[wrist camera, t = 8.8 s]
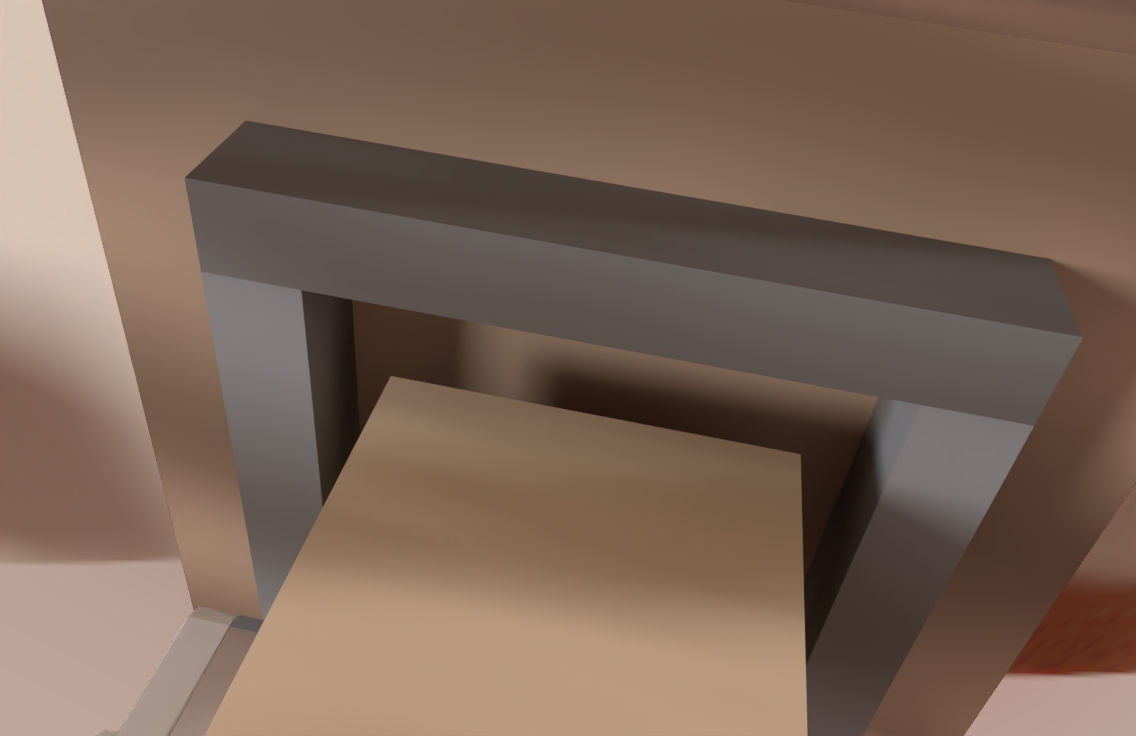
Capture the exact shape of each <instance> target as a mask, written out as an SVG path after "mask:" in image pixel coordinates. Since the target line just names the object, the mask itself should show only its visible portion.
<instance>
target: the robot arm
mask: <svg viewBox="0 0 1136 736" xmlns="http://www.w3.org/2000/svg"><path fill="white" fill-rule="evenodd" d="M263 622H264V620H260V619H256V618H251V617H247V616H244V615H242V614H237V613H232V612H227V611H222V610H217V609H212V608H207V607H202V606H198V607H197V608H196V609H195V610H194V611H193V612H192V613H191V614H190V615H189V616H188V617H187V618H186V619H185V621H184V623H183V624H182V626H181V628H180V629H179V631H178V633H177V634H176V636H175V637H174V639H173V641H172V643H171V644H170V646H169V647H168V649H167V651H166V652H165V654H164V656H163V657H162V659H161V661H160V663H159V664H158V666H157V667H156V669H155V671H154V673H153V674H152V676H151V678H150V679H149V681H148V682H147V684H146V686H145V687H144V689H143V691H142V692H141V694H140V696H139V697H138V699H137V701H136V702H135V704H134V706H133V707H132V709H131V711H130V712H129V714H128V716H127V717H126V719H125V720H124V722H123V724H122V726H121V727H120V729H119V730H118V732H115V731H109V730H104V731H103V732H101V733H99V734H98V735H96V736H205V734H206V732H207V730H208V728H209V726H210V724H211V722H212V720H213V718H214V716H215V714H216V712H217V710H218V708H219V707H220V705H221V703H222V701H223V699H224V697H225V695H226V693H227V691H228V689H229V687H230V685H231V683H232V681H233V680H234V678H235V676H236V674H237V672H238V670H239V668H240V666H241V664H242V662H243V660H244V658H245V656H246V654H247V653H248V651H249V649H250V647H251V645H252V643H253V641H254V639H255V637H256V635H257V633H258V631H259V629H260V627H261V626H262V624H263ZM808 736H809V735H808Z"/></svg>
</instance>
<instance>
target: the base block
mask: <svg viewBox="0 0 1136 736" xmlns="http://www.w3.org/2000/svg"><path fill="white" fill-rule="evenodd" d="M42 3H43V7H44V11H45V15H46V19H47V23H48V27H49V31H50V35H51V39H52V43H53V47H54V51H55V55H56V59H57V63H58V67H59V71H60V75H61V79H62V83H63V87H64V91H65V95H66V99H67V103H68V107H69V111H70V115H71V119H72V123H73V127H74V131H75V135H76V139H77V143H78V147H79V151H80V155H81V159H82V163H83V167H84V171H85V175H86V179H87V183H88V187H89V191H90V195H91V199H92V203H93V207H94V211H95V215H96V219H97V223H98V227H99V231H100V235H101V240H102V244H103V248H104V252H105V256H106V260H107V264H108V268H109V272H110V276H111V280H112V284H113V288H114V292H115V296H116V300H117V304H118V308H119V312H120V316H121V320H122V324H123V328H124V332H125V336H126V340H127V344H128V348H129V352H130V356H131V360H132V364H133V368H134V372H135V376H136V380H137V384H138V388H139V392H140V396H141V400H142V404H143V408H144V412H145V416H146V420H147V424H148V428H149V432H150V436H151V440H152V444H153V448H154V452H155V456H156V460H157V464H158V468H159V472H160V476H161V480H162V484H163V488H164V492H165V496H166V500H167V504H168V508H169V512H170V516H171V520H172V524H173V528H174V532H175V536H176V540H177V544H178V548H179V552H180V557H181V561H182V565H183V569H184V573H185V576H186V581H187V585H188V589H189V592H190V597H191V601H192V604H193V609H194V610H195V609H196V608H197V607H198V606H202V607H207V608H212V609H217V610H222V611H227V612H232V613H237V614H242V615H244V616H247V617H251V618H256V619H260V620H265V618H266V616H267V614H268V612H269V610H270V608H271V606H272V604H273V602H274V600H275V599H276V597H277V595H278V593H279V591H280V589H281V587H282V585H283V583H284V581H285V579H286V577H287V575H288V573H289V572H290V570H291V568H292V566H293V564H294V562H295V560H296V558H297V556H298V554H299V552H300V550H301V548H302V546H303V545H304V543H305V541H306V539H307V537H308V535H309V533H310V531H311V529H312V527H313V525H314V523H315V521H316V519H317V518H318V516H319V514H320V512H321V510H322V508H323V506H324V504H325V502H326V500H327V498H328V496H329V494H330V492H331V491H332V489H333V487H334V485H335V483H336V481H337V479H338V477H339V475H340V473H341V471H342V469H343V467H344V465H345V464H346V462H347V460H348V458H349V456H350V454H351V452H352V450H353V448H354V446H355V444H356V442H357V440H358V438H359V437H360V435H361V433H362V431H363V429H364V427H365V425H366V423H367V421H368V419H369V417H370V415H371V413H372V411H373V410H374V408H375V406H376V404H377V402H378V400H379V398H380V396H381V394H382V392H383V390H384V388H385V386H386V384H387V383H388V381H389V379H390V377H391V376H394V377H399V378H404V379H409V380H415V381H420V382H425V383H430V384H436V385H441V386H446V387H451V388H456V389H462V390H467V391H472V392H477V393H483V394H488V395H493V396H498V397H503V398H509V399H514V400H519V401H524V402H530V403H535V404H540V405H545V406H551V407H556V408H561V409H566V410H571V411H577V412H582V413H587V414H592V415H598V416H603V417H608V418H613V419H618V420H624V421H629V422H634V423H639V424H645V425H650V426H655V427H660V428H666V429H671V430H676V431H681V432H686V433H692V434H697V435H702V436H707V437H713V438H718V439H723V440H728V441H733V442H739V443H744V444H749V445H754V446H760V447H765V448H770V449H775V450H781V451H786V452H791V453H796V454H801V490H802V531H803V572H804V612H805V653H806V694H807V735H809V736H964V735H965V733H966V731H967V730H968V729H969V727H970V726H971V724H972V723H973V721H974V720H975V718H976V717H977V715H978V714H979V712H980V711H981V710H982V708H983V707H984V705H985V704H986V702H987V701H988V699H989V698H990V696H991V695H992V693H993V692H994V690H995V689H996V688H997V686H998V685H999V683H1000V682H1001V680H1002V679H1003V677H1004V676H1005V674H1006V673H1007V671H1008V670H1009V668H1010V667H1011V666H1012V664H1013V663H1014V661H1015V660H1016V658H1017V657H1018V655H1019V654H1020V652H1021V651H1022V649H1023V648H1024V646H1025V645H1026V643H1027V642H1028V641H1029V639H1030V638H1031V636H1032V635H1033V633H1034V632H1035V630H1036V629H1037V627H1038V626H1039V624H1040V623H1041V621H1042V620H1043V619H1044V617H1045V616H1046V614H1047V613H1048V611H1049V610H1050V608H1051V607H1052V605H1053V604H1054V602H1055V601H1056V599H1057V598H1058V596H1059V595H1060V594H1061V592H1062V591H1063V589H1064V588H1065V586H1066V585H1067V583H1068V582H1069V580H1070V579H1071V577H1072V576H1073V574H1074V573H1075V572H1076V570H1077V569H1078V567H1079V566H1080V564H1081V563H1082V561H1083V560H1084V558H1085V557H1086V555H1087V554H1088V552H1089V551H1090V550H1091V548H1092V547H1093V545H1094V544H1095V542H1096V541H1097V539H1098V538H1099V536H1100V535H1101V533H1102V532H1103V530H1104V529H1105V527H1106V526H1107V525H1108V523H1109V522H1110V520H1111V519H1112V517H1113V516H1114V514H1115V513H1116V511H1117V510H1118V508H1119V507H1120V505H1121V504H1122V503H1123V501H1124V500H1125V498H1126V497H1127V495H1128V494H1129V492H1130V491H1131V489H1132V488H1133V486H1134V485H1135V483H1136V0H42Z"/></svg>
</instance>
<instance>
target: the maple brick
mask: <svg viewBox="0 0 1136 736" xmlns="http://www.w3.org/2000/svg"><path fill="white" fill-rule="evenodd" d="M205 736H808V735H807V694H806V653H805V612H804V572H803V531H802V490H801V454H796V453H791V452H786V451H781V450H775V449H770V448H765V447H760V446H754V445H749V444H744V443H739V442H733V441H728V440H723V439H718V438H713V437H707V436H702V435H697V434H692V433H686V432H681V431H676V430H671V429H666V428H660V427H655V426H650V425H645V424H639V423H634V422H629V421H624V420H618V419H613V418H608V417H603V416H598V415H592V414H587V413H582V412H577V411H571V410H566V409H561V408H556V407H551V406H545V405H540V404H535V403H530V402H524V401H519V400H514V399H509V398H503V397H498V396H493V395H488V394H483V393H477V392H472V391H467V390H462V389H456V388H451V387H446V386H441V385H436V384H430V383H425V382H420V381H415V380H409V379H404V378H399V377H394V376H391V377H390V379H389V381H388V383H387V384H386V386H385V388H384V390H383V392H382V394H381V396H380V398H379V400H378V402H377V404H376V406H375V408H374V410H373V411H372V413H371V415H370V417H369V419H368V421H367V423H366V425H365V427H364V429H363V431H362V433H361V435H360V437H359V438H358V440H357V442H356V444H355V446H354V448H353V450H352V452H351V454H350V456H349V458H348V460H347V462H346V464H345V465H344V467H343V469H342V471H341V473H340V475H339V477H338V479H337V481H336V483H335V485H334V487H333V489H332V491H331V492H330V494H329V496H328V498H327V500H326V502H325V504H324V506H323V508H322V510H321V512H320V514H319V516H318V518H317V519H316V521H315V523H314V525H313V527H312V529H311V531H310V533H309V535H308V537H307V539H306V541H305V543H304V545H303V546H302V548H301V550H300V552H299V554H298V556H297V558H296V560H295V562H294V564H293V566H292V568H291V570H290V572H289V573H288V575H287V577H286V579H285V581H284V583H283V585H282V587H281V589H280V591H279V593H278V595H277V597H276V599H275V600H274V602H273V604H272V606H271V608H270V610H269V612H268V614H267V616H266V618H265V620H264V622H263V624H262V626H261V627H260V629H259V631H258V633H257V635H256V637H255V639H254V641H253V643H252V645H251V647H250V649H249V651H248V653H247V654H246V656H245V658H244V660H243V662H242V664H241V666H240V668H239V670H238V672H237V674H236V676H235V678H234V680H233V681H232V683H231V685H230V687H229V689H228V691H227V693H226V695H225V697H224V699H223V701H222V703H221V705H220V707H219V708H218V710H217V712H216V714H215V716H214V718H213V720H212V722H211V724H210V726H209V728H208V730H207V732H206V734H205Z"/></svg>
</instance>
